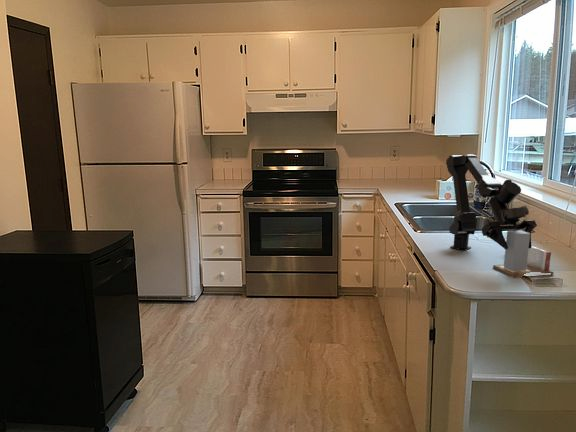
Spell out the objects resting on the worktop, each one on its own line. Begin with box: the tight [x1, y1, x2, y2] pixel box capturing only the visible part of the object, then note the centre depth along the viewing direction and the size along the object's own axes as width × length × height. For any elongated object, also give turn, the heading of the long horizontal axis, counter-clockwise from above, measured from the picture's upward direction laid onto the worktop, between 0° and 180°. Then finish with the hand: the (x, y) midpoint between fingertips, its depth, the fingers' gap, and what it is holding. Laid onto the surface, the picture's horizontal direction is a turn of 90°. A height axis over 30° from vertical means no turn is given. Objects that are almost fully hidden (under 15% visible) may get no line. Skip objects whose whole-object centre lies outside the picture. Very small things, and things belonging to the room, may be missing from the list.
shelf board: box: [492, 245, 555, 279], centre depth 164 cm, size 16×11×8 cm
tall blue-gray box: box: [503, 230, 530, 271], centre depth 163 cm, size 4×6×13 cm
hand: (518, 248), depth 162 cm, fingers open, 9 cm apart
